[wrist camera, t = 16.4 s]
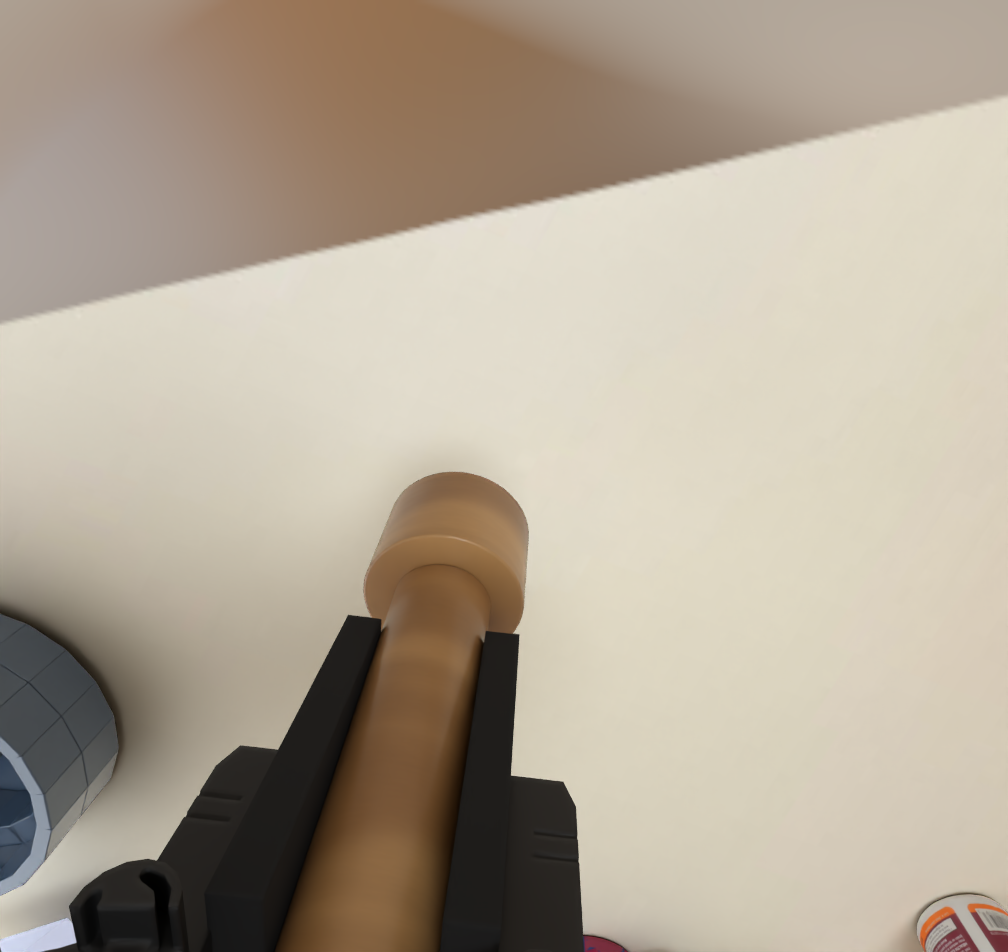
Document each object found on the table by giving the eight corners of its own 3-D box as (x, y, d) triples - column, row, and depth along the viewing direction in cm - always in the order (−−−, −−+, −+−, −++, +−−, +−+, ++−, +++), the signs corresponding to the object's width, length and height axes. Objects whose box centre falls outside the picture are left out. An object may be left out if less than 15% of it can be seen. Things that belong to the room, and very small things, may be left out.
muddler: (421, 447, 17) (-138, 1864, 3) (554, 508, 18) (535, 1895, 4) (370, 552, 19) (-121, 1728, 5) (491, 604, 20) (335, 1765, 6)
